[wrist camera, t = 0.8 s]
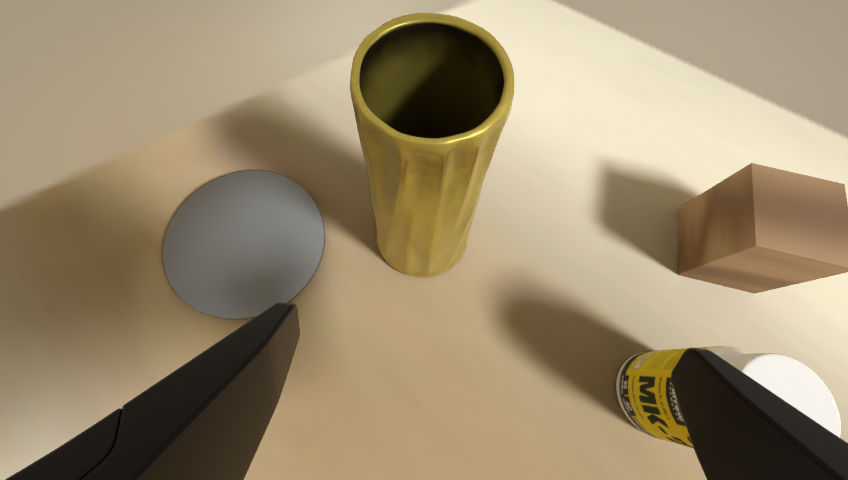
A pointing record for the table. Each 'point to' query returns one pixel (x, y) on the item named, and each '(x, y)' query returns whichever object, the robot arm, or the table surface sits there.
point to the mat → (243, 244)
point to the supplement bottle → (786, 377)
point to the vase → (428, 132)
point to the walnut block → (764, 230)
